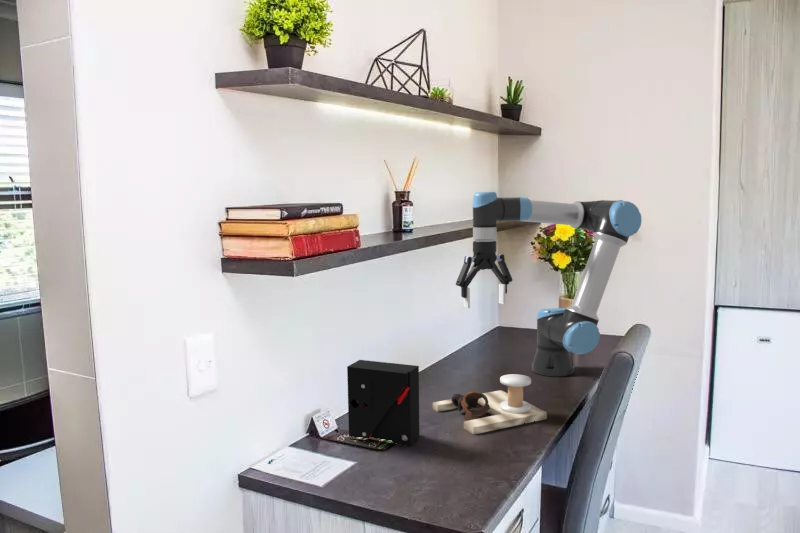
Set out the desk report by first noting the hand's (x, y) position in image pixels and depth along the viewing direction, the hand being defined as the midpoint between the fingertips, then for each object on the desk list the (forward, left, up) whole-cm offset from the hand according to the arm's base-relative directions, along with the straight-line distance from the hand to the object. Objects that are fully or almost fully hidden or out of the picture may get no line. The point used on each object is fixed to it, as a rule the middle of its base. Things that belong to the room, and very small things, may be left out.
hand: (484, 305), depth 204 cm
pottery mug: (+16, +16, -29) cm, 37 cm away
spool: (+4, +22, -27) cm, 35 cm away
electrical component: (+45, +20, -29) cm, 57 cm away
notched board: (+11, +18, -29) cm, 36 cm away
